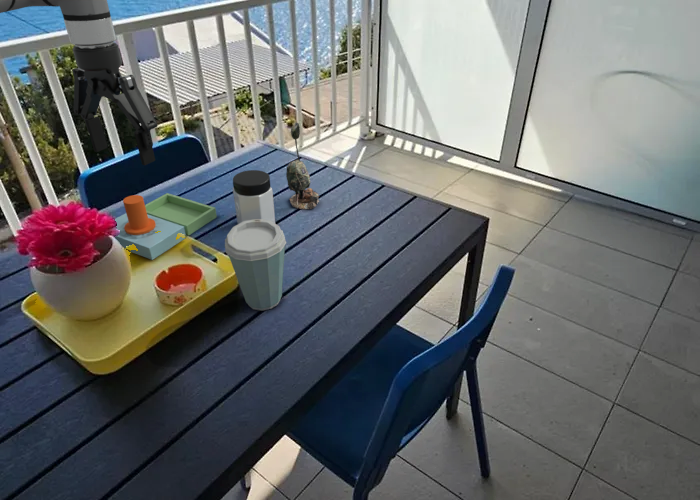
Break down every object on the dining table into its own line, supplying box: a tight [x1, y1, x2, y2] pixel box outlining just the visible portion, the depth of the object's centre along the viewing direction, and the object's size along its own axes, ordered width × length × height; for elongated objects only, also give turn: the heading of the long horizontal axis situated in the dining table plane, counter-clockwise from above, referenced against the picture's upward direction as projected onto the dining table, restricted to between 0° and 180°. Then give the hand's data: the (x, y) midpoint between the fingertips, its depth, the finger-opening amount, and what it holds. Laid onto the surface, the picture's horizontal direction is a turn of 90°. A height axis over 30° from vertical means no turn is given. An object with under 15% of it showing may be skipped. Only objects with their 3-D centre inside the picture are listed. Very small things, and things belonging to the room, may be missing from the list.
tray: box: [145, 192, 218, 236], centre depth 118 cm, size 16×10×3 cm, turn 62°
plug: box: [122, 194, 156, 235], centre depth 108 cm, size 6×6×10 cm
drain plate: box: [114, 212, 187, 261], centre depth 110 cm, size 16×10×3 cm, turn 62°
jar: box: [232, 169, 276, 225], centre depth 114 cm, size 9×8×12 cm
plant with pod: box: [284, 121, 320, 210], centre depth 120 cm, size 8×11×20 cm
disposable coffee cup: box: [224, 219, 287, 312], centre depth 90 cm, size 11×11×15 cm
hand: (124, 156), depth 100 cm, fingers open, 13 cm apart
